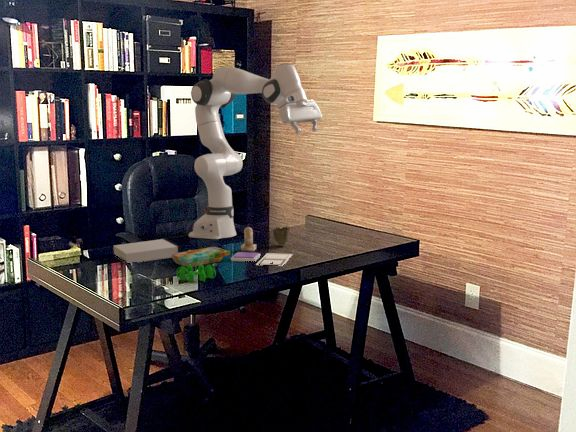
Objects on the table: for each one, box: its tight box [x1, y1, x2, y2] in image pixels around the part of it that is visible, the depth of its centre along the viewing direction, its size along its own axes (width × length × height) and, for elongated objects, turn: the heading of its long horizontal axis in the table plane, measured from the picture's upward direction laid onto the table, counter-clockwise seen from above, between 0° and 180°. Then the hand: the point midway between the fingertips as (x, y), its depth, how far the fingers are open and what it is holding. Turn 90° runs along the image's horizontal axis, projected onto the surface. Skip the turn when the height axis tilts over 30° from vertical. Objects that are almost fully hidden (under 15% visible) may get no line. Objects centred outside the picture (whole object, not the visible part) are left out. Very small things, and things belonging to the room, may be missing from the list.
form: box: [255, 252, 294, 267], centre depth 263 cm, size 11×19×1 cm, turn 168°
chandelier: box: [175, 259, 217, 284], centre depth 238 cm, size 15×15×7 cm
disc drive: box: [113, 238, 181, 264], centre depth 273 cm, size 18×22×5 cm
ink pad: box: [230, 251, 262, 263], centre depth 265 cm, size 10×9×2 cm
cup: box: [272, 226, 290, 248], centre depth 286 cm, size 8×7×8 cm
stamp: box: [240, 226, 258, 253], centre depth 278 cm, size 6×4×10 cm
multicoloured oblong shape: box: [171, 246, 231, 268], centre depth 261 cm, size 12×5×20 cm
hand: (307, 131), depth 265 cm, fingers open, 8 cm apart
